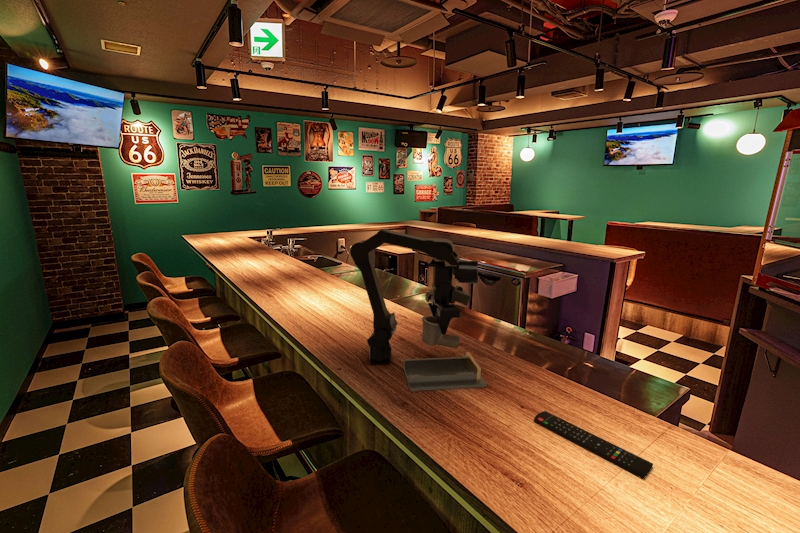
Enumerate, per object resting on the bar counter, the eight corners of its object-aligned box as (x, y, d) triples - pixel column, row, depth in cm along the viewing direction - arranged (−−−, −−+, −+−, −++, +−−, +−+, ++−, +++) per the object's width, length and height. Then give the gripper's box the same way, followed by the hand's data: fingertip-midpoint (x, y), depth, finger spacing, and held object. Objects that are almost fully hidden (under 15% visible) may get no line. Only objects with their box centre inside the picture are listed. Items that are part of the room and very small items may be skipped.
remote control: (642, 481, 73) (643, 475, 73) (531, 422, 91) (531, 417, 90) (652, 469, 76) (653, 463, 76) (542, 414, 94) (543, 409, 94)
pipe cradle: (410, 391, 103) (410, 374, 102) (403, 367, 117) (403, 352, 116) (486, 387, 106) (487, 370, 105) (471, 364, 119) (472, 349, 118)
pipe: (457, 354, 113) (463, 330, 111) (416, 344, 114) (421, 321, 111) (457, 344, 119) (462, 321, 116) (417, 335, 120) (422, 312, 117)
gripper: (480, 288, 104) (476, 341, 107) (458, 273, 122) (456, 319, 125) (441, 289, 102) (439, 343, 106) (425, 274, 120) (424, 320, 124)
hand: (441, 330), depth 115 cm, fingers closed on pipe, 5 cm apart
